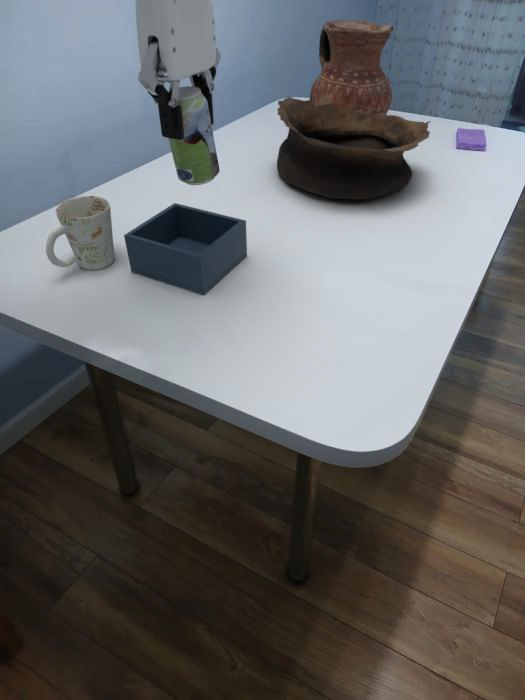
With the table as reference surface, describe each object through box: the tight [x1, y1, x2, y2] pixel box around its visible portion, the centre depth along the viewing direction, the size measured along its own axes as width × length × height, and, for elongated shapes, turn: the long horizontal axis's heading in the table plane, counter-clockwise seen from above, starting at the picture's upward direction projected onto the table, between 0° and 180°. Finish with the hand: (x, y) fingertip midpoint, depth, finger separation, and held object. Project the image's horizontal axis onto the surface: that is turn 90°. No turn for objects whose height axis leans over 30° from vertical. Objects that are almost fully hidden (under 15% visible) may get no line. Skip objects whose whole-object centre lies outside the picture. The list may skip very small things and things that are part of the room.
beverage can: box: [167, 85, 221, 186], centre depth 67 cm, size 6×7×12 cm
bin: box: [123, 202, 248, 296], centre depth 82 cm, size 15×14×7 cm
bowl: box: [276, 96, 432, 200], centre depth 108 cm, size 34×33×15 cm
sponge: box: [455, 127, 488, 152], centre depth 130 cm, size 7×13×2 cm, turn 164°
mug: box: [45, 195, 115, 271], centre depth 81 cm, size 8×13×10 cm, turn 148°
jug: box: [309, 19, 394, 116], centre depth 132 cm, size 22×21×25 cm
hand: (188, 129), depth 66 cm, fingers closed on beverage can, 6 cm apart
